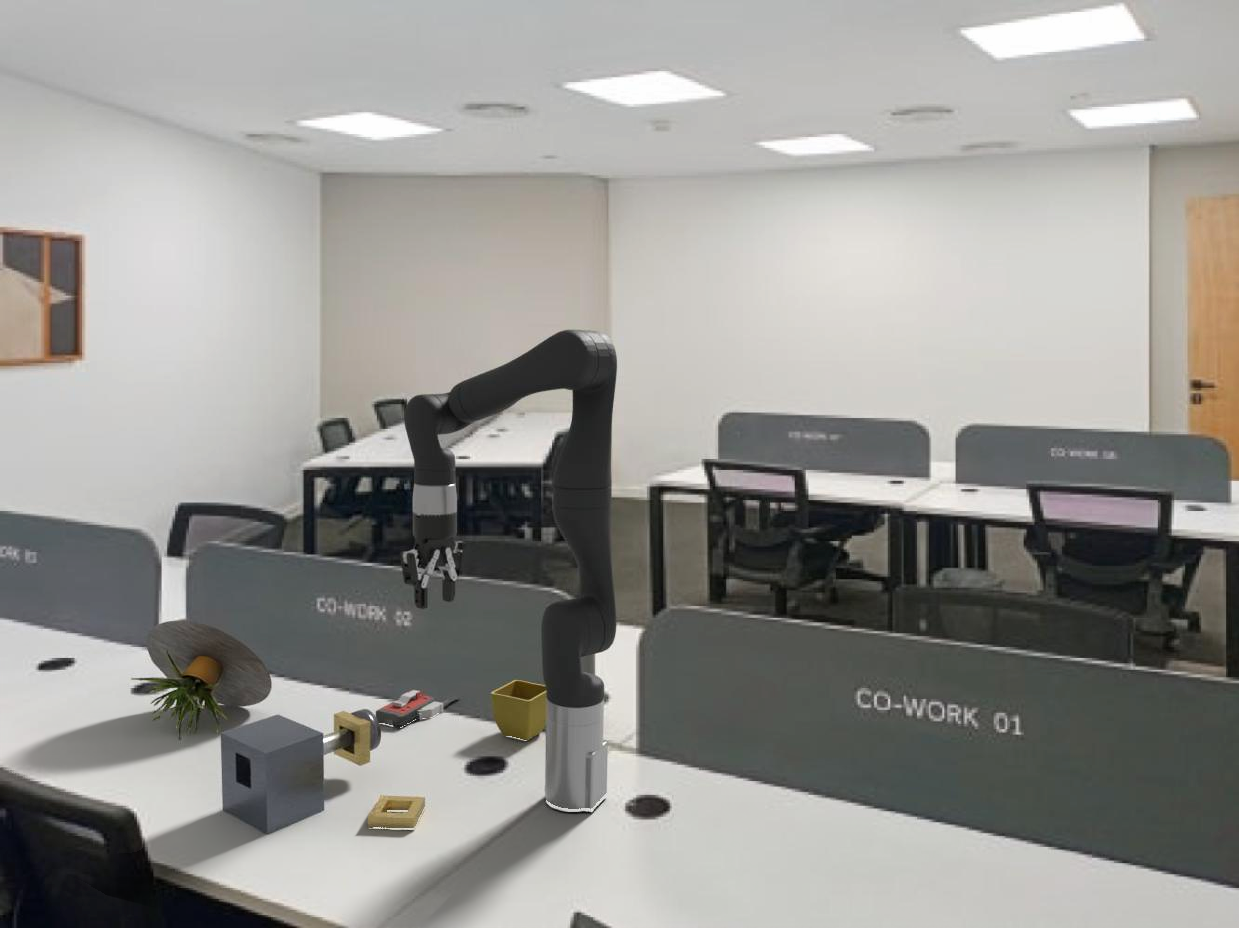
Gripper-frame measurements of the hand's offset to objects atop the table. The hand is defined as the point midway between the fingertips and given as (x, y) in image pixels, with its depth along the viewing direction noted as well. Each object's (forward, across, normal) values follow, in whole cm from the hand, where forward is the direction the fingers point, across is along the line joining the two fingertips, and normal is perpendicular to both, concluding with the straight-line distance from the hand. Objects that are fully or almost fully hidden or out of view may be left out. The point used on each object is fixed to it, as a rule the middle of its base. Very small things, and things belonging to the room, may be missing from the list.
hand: (435, 604), depth 172 cm
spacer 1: (+20, +16, -3) cm, 26 cm away
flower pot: (+28, -16, +6) cm, 33 cm away
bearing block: (+27, +30, -3) cm, 41 cm away
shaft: (+23, +22, -3) cm, 32 cm away
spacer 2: (+27, +20, +14) cm, 37 cm away
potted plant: (+28, +19, -45) cm, 56 cm away
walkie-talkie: (+28, -12, -18) cm, 35 cm away
